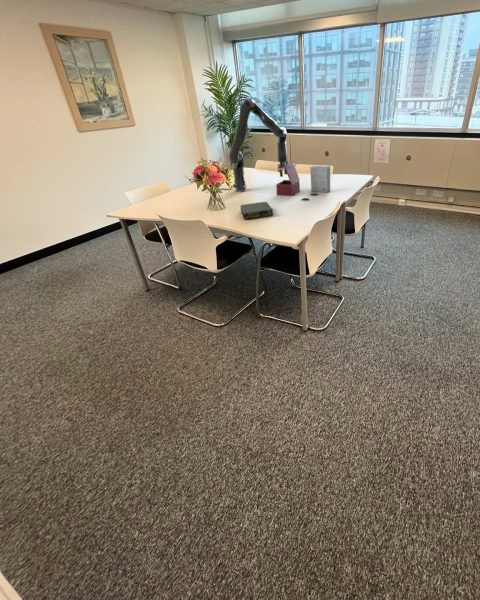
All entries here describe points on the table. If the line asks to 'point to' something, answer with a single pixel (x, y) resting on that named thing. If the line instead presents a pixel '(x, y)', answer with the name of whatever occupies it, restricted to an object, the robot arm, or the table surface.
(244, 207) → the network switch
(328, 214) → the table surface
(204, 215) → the table surface
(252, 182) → the table surface
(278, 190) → the dark red box
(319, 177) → the hard drive box
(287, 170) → the purple box lid
